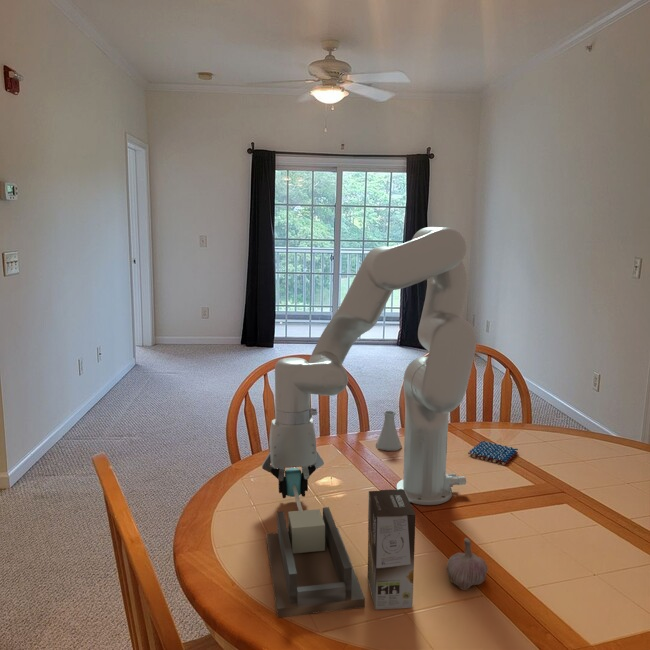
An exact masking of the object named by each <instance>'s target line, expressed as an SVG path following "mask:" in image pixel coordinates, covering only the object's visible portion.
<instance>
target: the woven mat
mask: <svg viewBox="0 0 650 650" xmlns="http://www.w3.org/2000/svg"><path fill="white" fill-rule="evenodd" d="M518 450H519V449H518V448H515V447H512V446H511V447H510V446H508V445H502V444H498V443H493V442H491V441H489V442H488V441H485V440H483V441H480V442H479V443H478V444H476V445H475V446H474V447H473V448H471V450H469V452H467V454H468V457H469V458H471V457H472V458H476V459H477V460H484V461H488V460H489V463H490V462H492V463H496V464H497V465H499V464H501V465H502V466H504V465H506V464H508V463H509V462H510V460H512V459H513V458H514V457H515V456H517V454H519V452H518Z"/></svg>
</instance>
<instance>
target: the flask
mask: <svg viewBox="0 0 650 650" xmlns="http://www.w3.org/2000/svg"><path fill="white" fill-rule="evenodd" d="M383 415H384V421H383V425H382V427H381V431H380V433H379V436H378V438H377V441H376V444H375V446H376V447H377V448H376V449H377V450H383V451H387V452H390V451H391V452H393V451H395V452H396V451H399V450H400V449H401V448H402V447H403V446H402V443H401V440H400V437H399V435H398V431H397V428H396V424H395V415H396V411H394V410H384V411H383Z"/></svg>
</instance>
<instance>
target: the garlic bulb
mask: <svg viewBox="0 0 650 650" xmlns="http://www.w3.org/2000/svg"><path fill="white" fill-rule="evenodd" d="M463 542H464V552H456V553H454V554H452V555H451V556H449V559H448V560H447V561H448V562H447V564H446V572H447V574H448V578H449V580H450V581H451V583H453V584H454V585H456V586H457V587H458V588H459V589H460V590H463V591H465V590H468V589H470V588H471V586H478V585H480V584H482V583H483V582H484V581H485V580H486V576H487V574H488V565H487V562H486V561H485V559H483V558H482V557H480V556H478V555H476V554H475V553H473V552H472V546H471V545H472V543H471V539H470V538H468V537H465V538H464V539H463Z"/></svg>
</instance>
